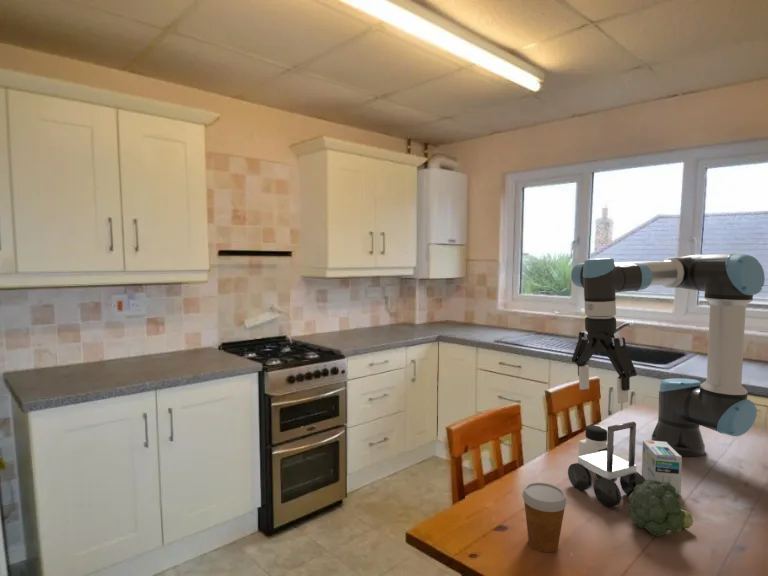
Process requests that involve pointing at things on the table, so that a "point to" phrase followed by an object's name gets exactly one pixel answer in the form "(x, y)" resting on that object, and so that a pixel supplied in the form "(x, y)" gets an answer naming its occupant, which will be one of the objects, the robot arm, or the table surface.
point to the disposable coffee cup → (544, 515)
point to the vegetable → (658, 508)
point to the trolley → (608, 470)
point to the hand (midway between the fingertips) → (602, 395)
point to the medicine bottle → (593, 440)
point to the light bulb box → (661, 463)
